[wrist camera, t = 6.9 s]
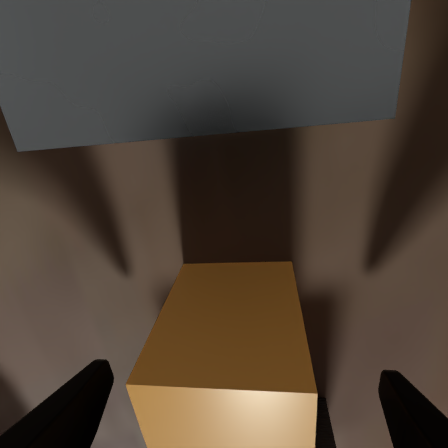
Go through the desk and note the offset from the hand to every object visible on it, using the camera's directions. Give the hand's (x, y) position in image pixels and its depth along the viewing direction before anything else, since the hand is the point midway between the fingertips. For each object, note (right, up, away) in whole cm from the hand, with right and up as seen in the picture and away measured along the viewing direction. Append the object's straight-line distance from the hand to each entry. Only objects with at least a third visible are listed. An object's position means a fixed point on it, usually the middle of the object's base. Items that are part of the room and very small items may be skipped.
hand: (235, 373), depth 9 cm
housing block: (0, +1, +2) cm, 3 cm away
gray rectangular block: (-1, +9, -1) cm, 9 cm away
